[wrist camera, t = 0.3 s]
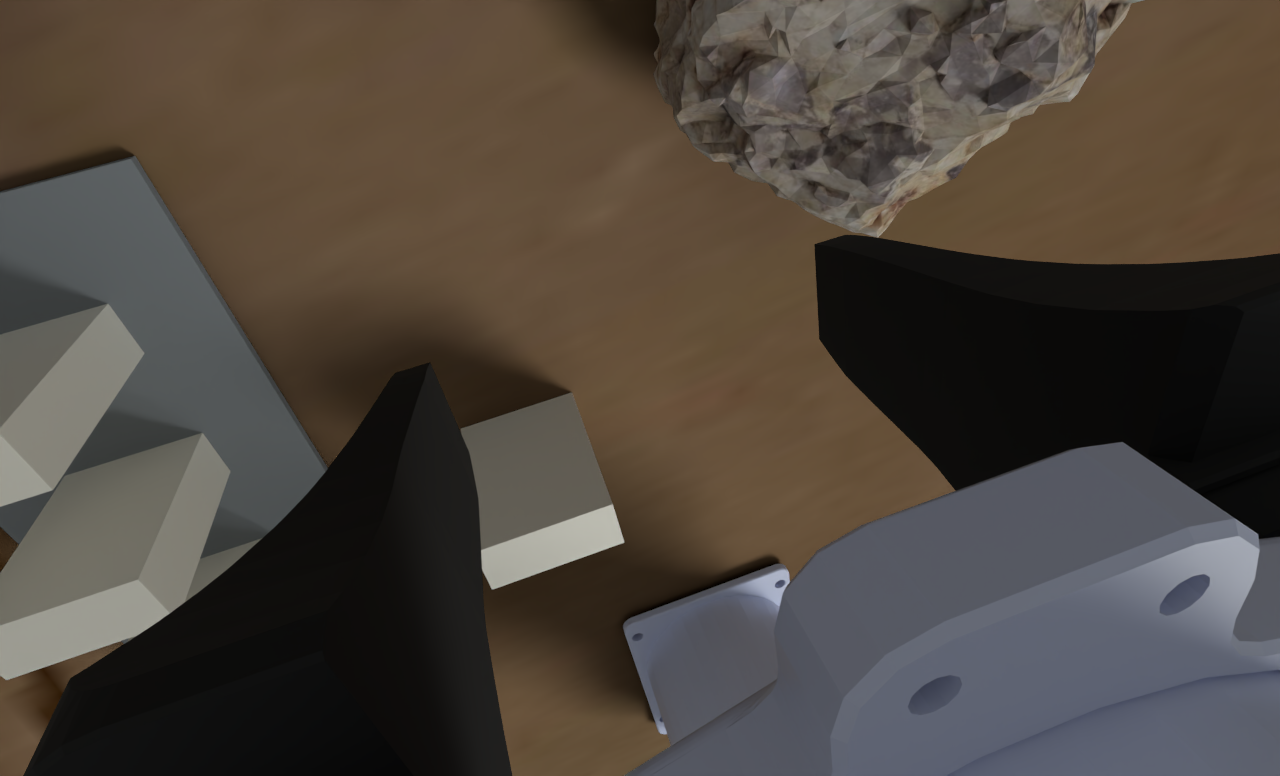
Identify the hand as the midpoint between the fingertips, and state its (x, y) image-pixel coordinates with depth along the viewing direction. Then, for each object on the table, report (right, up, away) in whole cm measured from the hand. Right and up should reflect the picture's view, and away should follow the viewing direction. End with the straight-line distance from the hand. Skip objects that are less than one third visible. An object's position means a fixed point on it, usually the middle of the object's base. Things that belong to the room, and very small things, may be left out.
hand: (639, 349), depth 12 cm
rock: (+4, +11, +7) cm, 13 cm away
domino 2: (-15, -3, +9) cm, 18 cm away
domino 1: (-16, 0, +6) cm, 17 cm away
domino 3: (-4, -2, +12) cm, 13 cm away
